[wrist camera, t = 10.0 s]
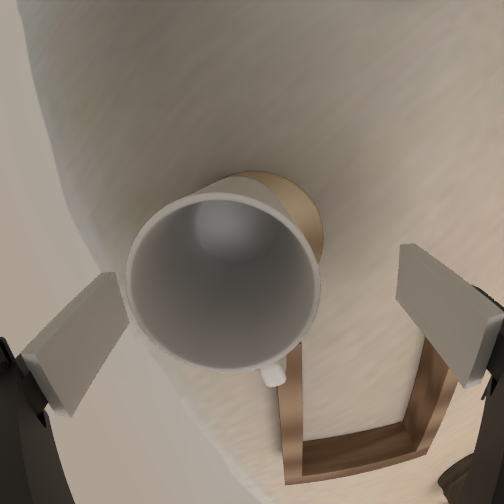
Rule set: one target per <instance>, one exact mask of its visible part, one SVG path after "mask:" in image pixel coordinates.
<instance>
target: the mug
mask: <svg viewBox="0 0 504 504" xmlns="http://www.w3.org/2000/svg"><path fill="white" fill-rule="evenodd" d="M125 282H126V291H127V297H128V301H129V304H130V307H131V310H132V312H133V314H134V316H135V318H136V320H137V322H138V324H139V325H140V327H141V328H142V330H143V331H144V333H145V334H146V335H147V336H148V337H149V339H150V340H151V341H152V342H153V343H154V344H155V345H156V346H158V347H159V348H160V349H161V350H162V351H164V352H165V353H166V354H168V355H169V356H171V357H172V358H174V359H176V360H178V361H180V362H182V363H184V364H186V365H188V366H191V367H194V368H197V369H200V370H204V371H209V372H216V373H241V372H248V371H253V370H257V369H259V372H260V374H261V376H262V378H263V380H264V382H265V384H266V385H267V386H268V387H276V386H279V385H281V384H283V383H285V381H286V374H285V371H286V355H287V354H288V353H289V352H290V351H292V350H293V349H294V348H295V347H296V346H297V345H298V344H299V343H300V341H301V340H302V339H303V338H304V336H305V335H306V334H307V332H308V330H309V329H310V327H311V325H312V323H313V321H314V319H315V316H316V313H317V310H318V306H319V301H320V292H321V283H320V274H319V269H318V264H317V261H316V258H315V255H314V253H313V251H312V249H311V247H310V245H309V243H308V241H307V240H306V238H305V236H304V235H303V233H302V232H301V230H300V228H299V227H298V226H297V224H296V223H295V221H294V220H293V219H292V217H291V216H290V215H289V213H288V212H287V211H286V209H285V208H284V207H283V205H282V204H281V202H280V201H279V200H278V198H277V197H276V196H275V195H274V194H273V193H272V192H271V190H270V189H268V188H267V187H266V186H265V185H263V184H262V183H260V182H258V181H256V180H254V179H251V178H247V177H229V178H225V179H222V180H219V181H217V182H215V183H212V184H210V185H208V186H206V187H204V188H202V189H200V190H198V191H196V192H194V193H192V194H190V195H188V196H186V197H184V198H181V199H178V200H176V201H174V202H172V203H170V204H168V205H167V206H165V207H164V208H162V209H161V210H159V211H158V212H157V213H156V214H154V215H153V216H152V217H151V218H150V219H149V220H148V221H147V222H146V224H145V225H144V226H143V227H142V229H141V230H140V232H139V233H138V235H137V236H136V238H135V240H134V242H133V244H132V247H131V249H130V252H129V255H128V259H127V264H126V274H125Z"/></svg>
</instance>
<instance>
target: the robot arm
mask: <svg viewBox="0 0 504 504" xmlns="http://www.w3.org/2000/svg"><path fill="white" fill-rule="evenodd" d="M396 300H397V301H398V302H399V303H400V305H401V306H402V307H403V308H404V310H405V311H406V312H407V313H408V315H409V316H410V317H411V318H412V320H413V321H414V322H415V323H416V325H417V326H418V327H419V328H420V330H421V331H422V332H423V334H424V335H425V336H426V338H427V339H428V340H429V341H430V343H431V344H432V345H433V347H434V348H435V349H436V351H437V352H438V353H439V355H440V356H441V357H442V359H443V360H444V361H445V363H446V364H447V366H448V367H449V368H450V370H451V371H452V373H453V374H454V375H455V377H456V378H457V380H458V381H459V382H460V384H461V385H462V387H463V388H464V389H466V388H468V387H471V386H474V385H476V384H479V383H481V381H482V378H483V376H484V373H485V371H486V369H487V370H488V371H489V372H490V374H491V375H492V376H491V378H490V380H489V382H488V385H487V387H486V389H485V391H484V394H483V396H482V398H481V400H484V398H485V396H486V401H485V406H484V412H483V417H482V421H481V426H480V430H479V435H478V439H477V443H476V447H475V450H474V454H473V458H472V461H471V464H470V468H469V471H468V474H467V477H466V480H465V483H464V486H463V488H462V491H461V494H460V497H459V499H458V502H457V504H504V307H502V306H501V305H500V304H499V303H498V302H496V301H494V299H493V298H491V297H490V296H488V294H486V293H485V292H484V291H483V290H481V289H480V288H478V287H475V286H473V285H471V284H469V283H468V282H466V281H465V280H464V279H463V278H461V277H460V276H459V275H457V274H456V273H455V272H453V271H452V270H451V269H449V268H448V267H447V266H445V265H444V264H443V263H441V262H440V261H438V260H437V259H436V258H434V257H433V256H431V255H430V254H429V253H427V252H426V251H424V250H423V249H422V248H420V247H419V246H417V245H416V244H414V243H412V244H403V245H400V255H399V269H398V282H397V292H396ZM129 323H130V322H129V319H128V316H127V313H126V310H125V306H124V303H123V300H122V296H121V293H120V289H119V286H118V282H117V278H116V275H115V272H107V273H101V274H100V275H99V276H98V277H97V278H95V280H93V281H92V282H91V283H90V284H89V285H88V286H87V287H86V288H85V289H84V290H83V291H81V292H80V293H79V294H78V295H77V296H76V297H75V298H74V299H73V300H72V301H71V302H70V303H69V304H68V305H67V306H66V307H65V308H64V309H63V310H62V311H61V312H60V313H59V314H58V315H57V316H56V317H55V318H54V319H53V320H52V321H51V322H50V323H49V324H48V325H47V326H46V327H45V328H44V329H43V330H42V331H41V332H40V333H39V334H38V335H37V336H36V337H35V338H34V339H33V340H32V341H31V342H30V343H29V344H28V345H27V346H26V348H25V349H24V350H23V351H22V352H21V353H20V354H19V356H17V357H16V359H15V358H14V356H13V354H12V352H11V350H10V348H9V346H8V344H7V341H6V339H5V338H3V337H0V504H75V502H74V500H73V497H72V495H71V492H70V489H69V486H68V484H67V481H66V478H65V475H64V472H63V469H62V465H61V462H60V459H59V455H58V452H57V449H56V445H55V441H54V437H53V433H52V429H51V425H50V420H49V416H48V414H47V412H46V411H45V410H44V408H45V407H46V405H47V403H49V405H50V406H51V408H52V409H53V411H54V412H55V414H57V415H61V416H66V417H70V418H71V417H72V416H73V414H74V412H75V410H76V409H77V407H78V405H79V403H80V402H81V400H82V398H83V397H84V395H85V393H86V391H87V389H88V388H89V386H90V385H91V383H92V381H93V380H94V378H95V377H96V375H97V373H98V371H99V370H100V368H101V367H102V365H103V363H104V362H105V360H106V359H107V357H108V355H109V354H110V352H111V351H112V349H113V348H114V346H115V344H116V343H117V341H118V339H119V338H120V337H121V335H122V333H123V332H124V330H125V329H126V327H127V326H128V324H129Z"/></svg>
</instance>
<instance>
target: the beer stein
mask: <svg viewBox="0 0 504 504" xmlns="http://www.w3.org/2000/svg"><path fill="white" fill-rule="evenodd" d="M473 454H474V453H473ZM473 454H471V455H469V456H467V457H465V458H464V459H462V460H461V461H459V462H458V463H456V464H455V465H453V466H452V467H451V468H449V469H448V470H447V471H446V472H445V473H444V474H443V475H442V476H441V477H440V479H439V481H438V484H439V486H440V487H441V488H442V489H443V494H444V496H445V497H446V498H447V500H448V502H449V504H457V502H458V499H459V497H460V494H461V491H462V488H463V486H464V483H465V480H466V477H467V474H468V471H469V468H470V464H471V461H472V458H473Z"/></svg>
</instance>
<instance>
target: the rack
mask: <svg viewBox="0 0 504 504" xmlns="http://www.w3.org/2000/svg"><path fill="white" fill-rule="evenodd" d="M285 374H286V381H285V383H283V384H281V385H279V386H277V389H278V401H279V413H280V426H281V439H282V452H283V465H284V477H285V485H293V484H301V483H309V482H316V481H323V480H329V479H335V478H340V477H346V476H351V475H355V474H360V473H364V472H369V471H373V470H377V469H380V468H384V467H388V466H392V465H395V464H398V463H402V462H405V461H408V460H411V459H414V458H417V457H420V456H423V455H426V453H427V451H428V449H429V447H430V445H431V443H432V441H433V439H434V437H435V435H436V433H437V431H438V429H439V427H440V424H441V422H442V420H443V418H444V415H445V413H446V411H447V408H448V406H449V403H450V401H451V398H452V396H453V393H454V391H455V388H456V385H457V382H458V380H457V378H456V377H455V375H454V374H453V373H452V371H451V370H450V368H449V367H448V366H447V364H446V363H445V361H444V360H443V359H442V357H441V356H440V355H439V353H438V352H437V351H436V349H435V348H434V347H433V345H432V344H431V343H430V341H429V340H428V339H427V338H426V337H425V342H424V347H423V351H422V356H421V360H420V364H419V368H418V372H417V376H416V380H415V384H414V387H413V391H412V394H411V398H410V401H409V404H408V408H407V411H406V414H405V417H404V420H403V422H400V423H396V424H392V425H389V426H385V427H381V428H376V429H372V430H368V431H363V432H358V433H353V434H348V435H343V436H337V437H332V438H325V439H319V440H312V441H304V442H303V396H302V346H301V341H300V343H299V344H298V345H297V346H296V347H295V348H294V349H293V350H292V351H290V352H289V353H288V354H287V355H286V371H285Z"/></svg>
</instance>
